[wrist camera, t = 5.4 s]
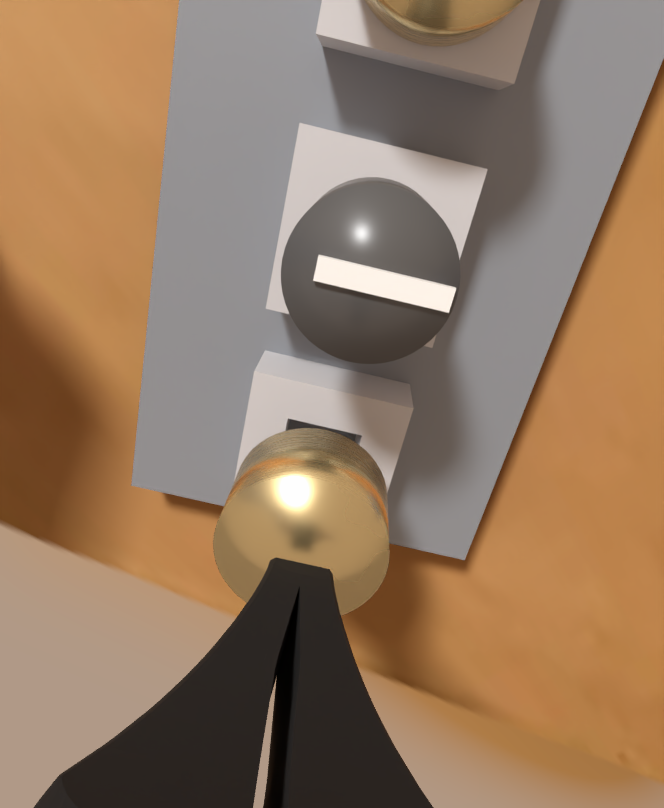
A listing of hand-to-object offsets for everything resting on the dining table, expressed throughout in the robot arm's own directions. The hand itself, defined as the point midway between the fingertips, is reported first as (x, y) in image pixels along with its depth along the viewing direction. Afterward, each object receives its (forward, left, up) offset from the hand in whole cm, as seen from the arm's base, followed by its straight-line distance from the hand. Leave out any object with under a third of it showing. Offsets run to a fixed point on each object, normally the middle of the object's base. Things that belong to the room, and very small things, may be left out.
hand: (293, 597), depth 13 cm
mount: (0, +7, -10) cm, 13 cm away
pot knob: (0, +7, -6) cm, 9 cm away
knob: (0, 0, -6) cm, 6 cm away
